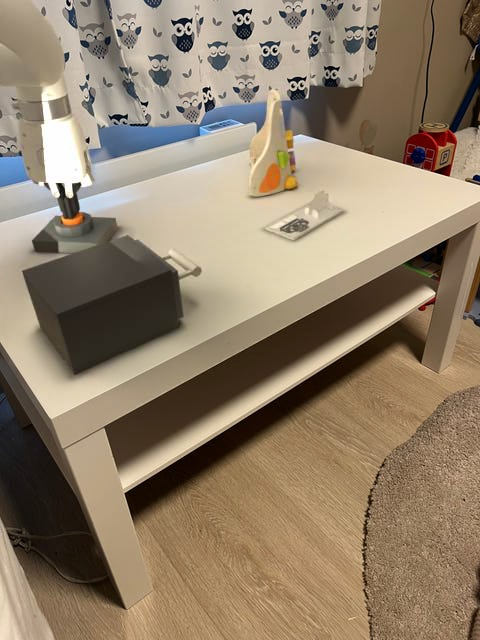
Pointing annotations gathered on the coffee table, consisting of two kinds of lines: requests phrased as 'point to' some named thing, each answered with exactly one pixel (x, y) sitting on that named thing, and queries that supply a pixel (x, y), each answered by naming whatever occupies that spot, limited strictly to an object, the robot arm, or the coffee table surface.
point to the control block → (74, 234)
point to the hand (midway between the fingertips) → (71, 215)
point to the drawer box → (102, 301)
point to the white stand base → (305, 218)
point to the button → (73, 220)
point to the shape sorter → (272, 153)
